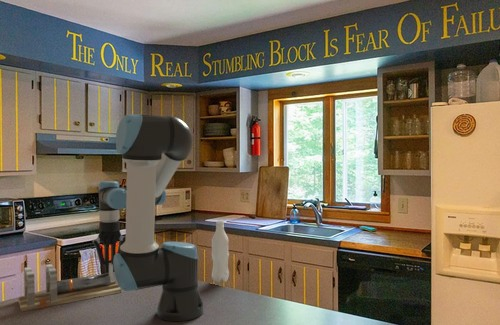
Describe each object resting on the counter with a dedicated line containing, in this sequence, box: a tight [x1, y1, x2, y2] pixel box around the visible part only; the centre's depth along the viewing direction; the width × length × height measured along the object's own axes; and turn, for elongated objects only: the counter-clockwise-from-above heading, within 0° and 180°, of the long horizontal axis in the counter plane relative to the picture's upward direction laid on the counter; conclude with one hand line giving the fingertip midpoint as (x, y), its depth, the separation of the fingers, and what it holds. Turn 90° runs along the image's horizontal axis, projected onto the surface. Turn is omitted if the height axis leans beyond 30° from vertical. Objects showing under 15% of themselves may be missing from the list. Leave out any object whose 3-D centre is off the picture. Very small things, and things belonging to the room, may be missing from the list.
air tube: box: [57, 272, 110, 295], centre depth 151 cm, size 20×5×5 cm, turn 124°
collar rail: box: [17, 263, 122, 312], centre depth 149 cm, size 13×34×12 cm, turn 124°
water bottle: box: [211, 220, 230, 284], centre depth 167 cm, size 7×7×25 cm
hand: (110, 280), depth 158 cm, fingers closed
